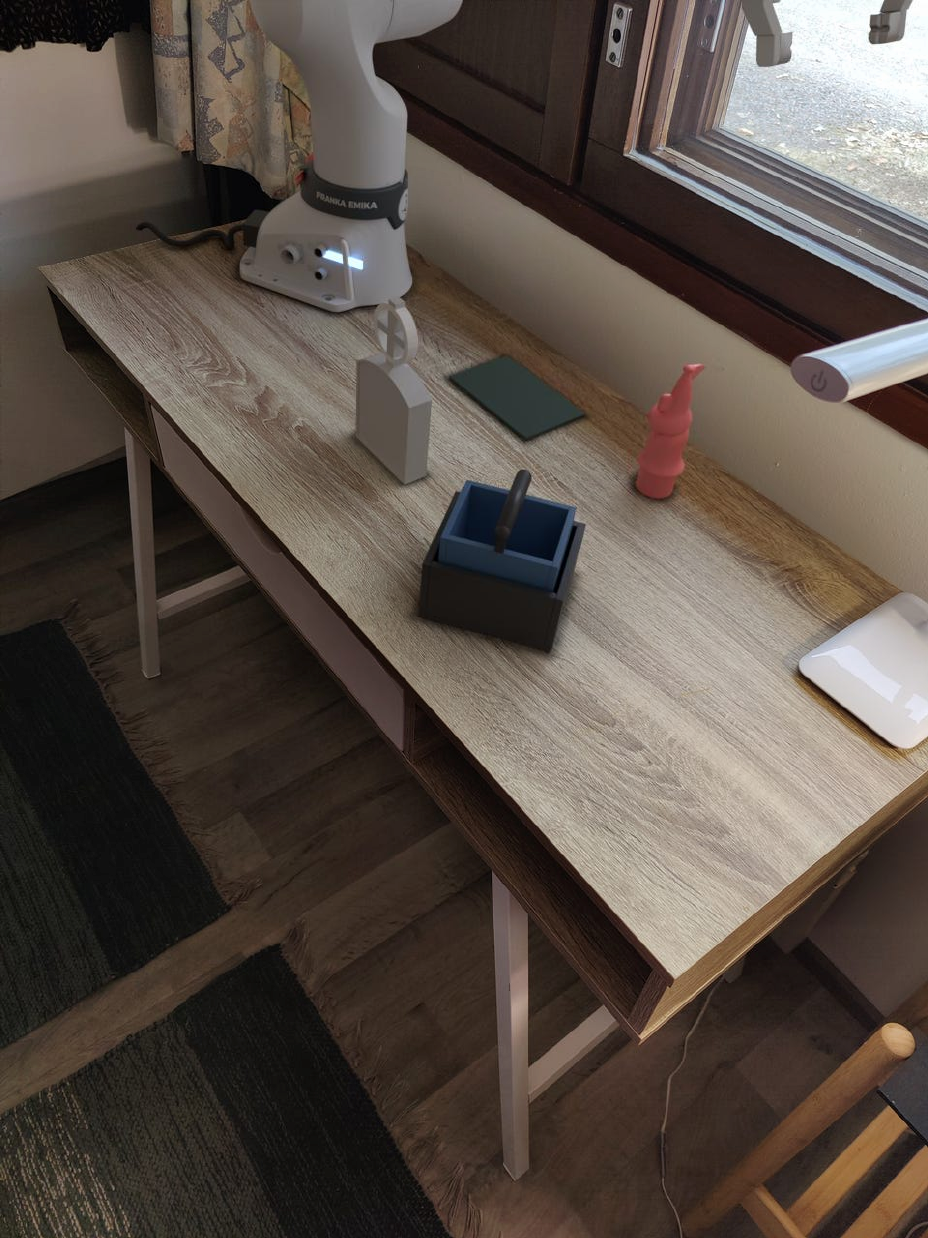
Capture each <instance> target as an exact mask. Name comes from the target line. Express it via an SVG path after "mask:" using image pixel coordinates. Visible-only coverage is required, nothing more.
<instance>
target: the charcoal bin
mask: <svg viewBox="0 0 928 1238" xmlns="http://www.w3.org/2000/svg"><path fill="white" fill-rule="evenodd" d="M460 493H461V491H457V490H455V492H454V494H453V496H452V498H451V500H450V503H449V505H448V506H447V509H446V511H445V513H444V516H443V517H442V520H441V522H440V524H439V527H438V528H437V531H436V533H435V535H434V538H433V540H432V542H431V544H430V546H429V548H428V550H427V552H426V555H425V556H424V560H423V561H422V563H421V574H420V575H421V576H420V587H419V600H418V612H417V617H418V618H422V619H424V620H428V621H432V622H436V623H439V624H444V625H448V626H451V627H455V628H459V629H462V630H464V631H465V630H466V631H469V632H473V633H476V634H479V635H484V636H487V637H491V638H495V639H498V640H502V641H506V642H510V643H513V644H517V645H521V646H524V647H527V648H532V649H536V650H538V651H544V652H546V653H552V649H553V646H554V643H555V639H556V636H557V632H558V629H559V626H560V622H561V619H562V615H563V611H564V608H565V605H566V602H567V599H568V596H569V591H570V588H571V585H572V581H573V578H574V573H575V570H576V566H577V562H578V558H579V554H580V549H581V546H582V541H583V539H584V535H585V529H586V525H587V523H584V522H580V521H578V520H577V521H576V520H574V522H573V526H572V530H571V534H570V539H569V543H568V547H567V552H566V556H565V560H564V564H563V569H562V573H561V577H560V580H559V583H558V586H557V590H556V593H553V592H549V591H545V590H541V589H538V588H534V587H530V586H526V585H522V584H519V583H515V582H511V581H507V580H503V579H500V578H496V577H492V576H488V575H484V574H481V573H477V572H473V571H469V570H466V569H462V568H458V567H454V566H450V565H447V564H443V563H439V562H438V557H439V547H440V537H441V535H442V533H443V530H444V528H445V526H446V524H447V522H448V519H449V517H450V515H451V513H452V511H453V508H454V506H455V504H456V502H457V499H458V497H459V495H460Z"/></svg>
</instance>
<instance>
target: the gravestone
mask: <svg viewBox="0 0 928 1238" xmlns="http://www.w3.org/2000/svg"><path fill="white" fill-rule="evenodd" d="M373 329H374V334H375V339H376V342H377V344H378V347H379V350H380V351H381V352H379V353H376V354H373V355H370V356H366V357H363V358H360V359H357V360H356V361H355V370H356V371H355V437H356V438H357V440H359V441H360V443H362V444H363V446H365V447H366V448H367V449H368V450H369V451H370V452H371V453H372V455H374V456H375V457H376V458H377V459H378V460H379V461H380V462H381V463H382V464H383V465H384V466H385V467H386V468H387V469H388V470H389V471H390V472H391V473H392V474H393V475H394V476H396V478H397V479H398V480H399V481H400V482H401V483H403V485H407V484H410V483H413V482H415V481H417V480H419V479H422V478H425V477H427V473H428V472H427V470H428V458H429V444H430V432H431V422H432V421H431V420H432V407H433V399H432V397H431V394H430V393H429V390H428V389H427V387H426V385H425V383H424V382H423V380H422V378H420V376H419V375H418V374H417V373H416V371H415V370H414V369H413V368H412V366H410V365H409V364H408V363H410V362H413V361H414V360H415V358H416V357H417V354H418V350H419V336H418V331H417V326H416V323H415V321H414V318H413V316H412V315H411V313H410V311H409V310H408V308H407V307H406V301H405V300H403V298H401V297H399V296H397V297H393V298H390V299H388V302H384V303H381V304H377V306H376V308H375V310H374V314H373Z"/></svg>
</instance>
